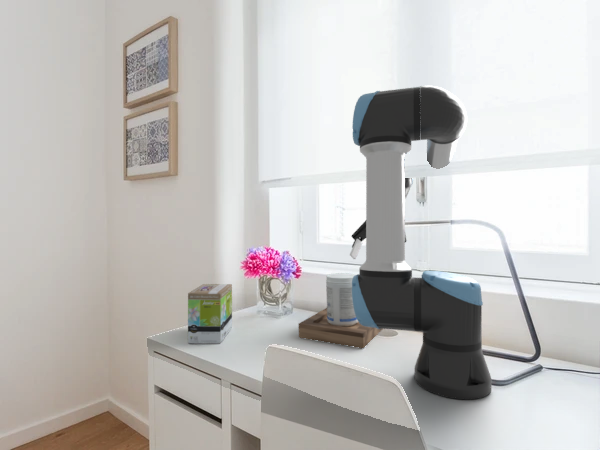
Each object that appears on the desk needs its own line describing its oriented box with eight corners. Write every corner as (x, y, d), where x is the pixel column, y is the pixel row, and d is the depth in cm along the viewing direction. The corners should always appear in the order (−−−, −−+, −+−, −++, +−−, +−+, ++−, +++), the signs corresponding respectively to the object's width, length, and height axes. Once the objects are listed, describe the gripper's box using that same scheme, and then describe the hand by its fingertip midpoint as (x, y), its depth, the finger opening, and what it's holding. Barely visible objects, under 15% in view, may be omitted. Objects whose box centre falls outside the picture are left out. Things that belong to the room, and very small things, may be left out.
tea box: (222, 344, 102) (221, 292, 101) (187, 344, 102) (185, 293, 102) (233, 327, 117) (232, 282, 116) (202, 327, 117) (201, 283, 117)
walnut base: (363, 348, 96) (363, 333, 96) (298, 337, 106) (298, 323, 106) (383, 327, 114) (383, 314, 114) (326, 319, 124) (326, 307, 124)
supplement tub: (361, 320, 113) (361, 273, 112) (353, 329, 104) (353, 278, 104) (332, 317, 116) (331, 272, 116) (322, 325, 108) (321, 276, 107)
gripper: (429, 212, 116) (408, 267, 108) (366, 214, 135) (345, 261, 126) (419, 197, 112) (397, 254, 104) (356, 201, 131) (333, 250, 122)
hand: (369, 258), depth 115 cm, fingers open, 13 cm apart
